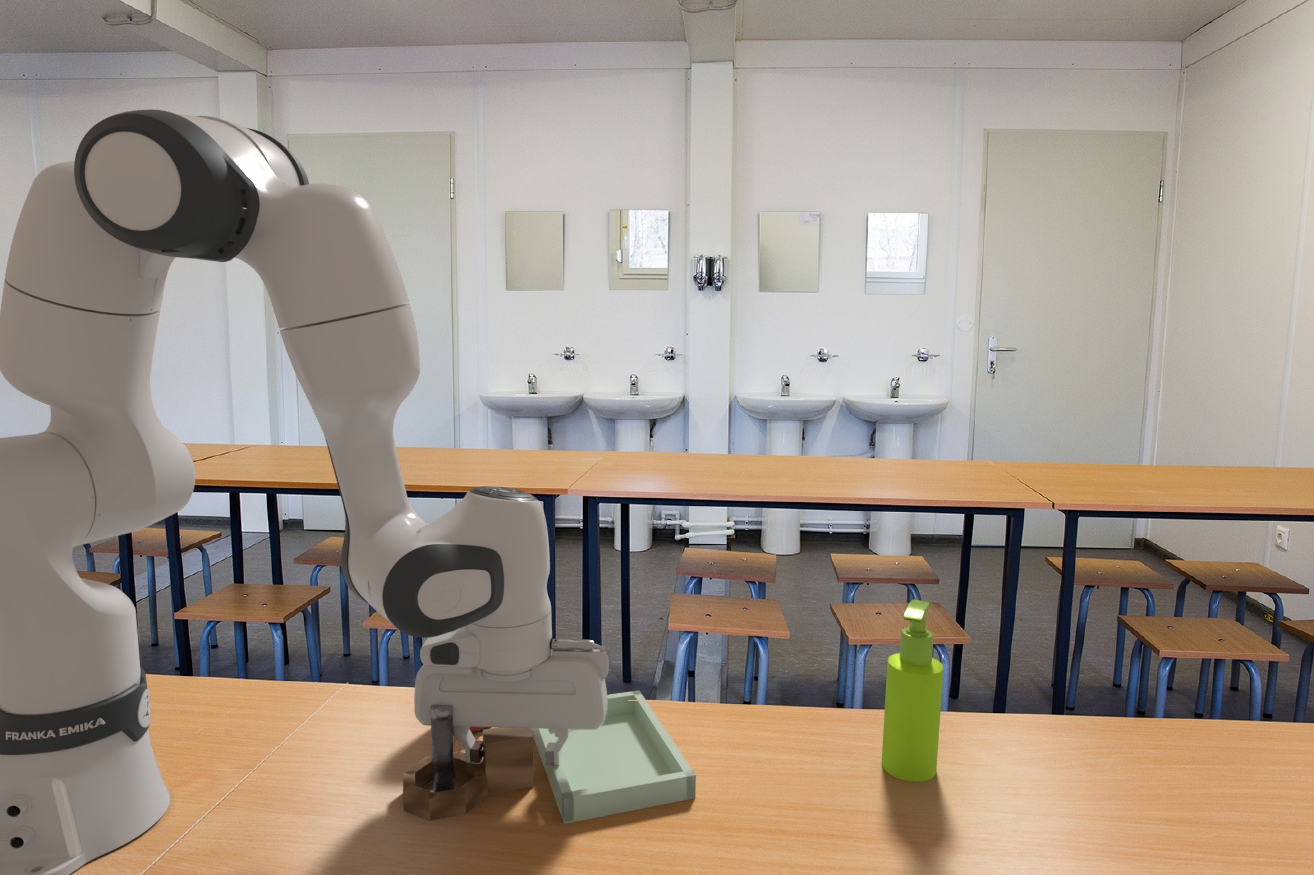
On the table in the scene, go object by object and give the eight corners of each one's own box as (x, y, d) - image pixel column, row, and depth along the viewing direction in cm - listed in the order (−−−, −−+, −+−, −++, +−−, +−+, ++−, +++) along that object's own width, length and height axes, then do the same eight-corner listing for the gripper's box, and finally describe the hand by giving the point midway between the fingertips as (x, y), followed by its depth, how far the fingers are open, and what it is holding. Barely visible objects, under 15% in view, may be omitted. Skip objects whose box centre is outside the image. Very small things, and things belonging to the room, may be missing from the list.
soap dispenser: (874, 783, 86) (884, 609, 83) (887, 754, 92) (896, 590, 89) (929, 799, 83) (942, 619, 80) (939, 767, 89) (951, 599, 86)
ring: (403, 780, 85) (401, 728, 84) (525, 761, 89) (525, 711, 88) (403, 827, 77) (402, 770, 76) (537, 803, 81) (537, 749, 80)
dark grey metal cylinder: (433, 803, 81) (431, 713, 80) (432, 791, 83) (430, 703, 82) (455, 799, 82) (453, 710, 80) (453, 788, 84) (451, 700, 82)
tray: (563, 827, 77) (563, 798, 77) (530, 729, 96) (530, 705, 96) (695, 802, 82) (695, 775, 81) (638, 713, 101) (639, 690, 100)
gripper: (611, 628, 84) (614, 748, 86) (426, 625, 85) (433, 743, 87) (604, 653, 78) (606, 781, 80) (404, 649, 79) (411, 775, 81)
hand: (514, 761), depth 84 cm, fingers open, 7 cm apart
